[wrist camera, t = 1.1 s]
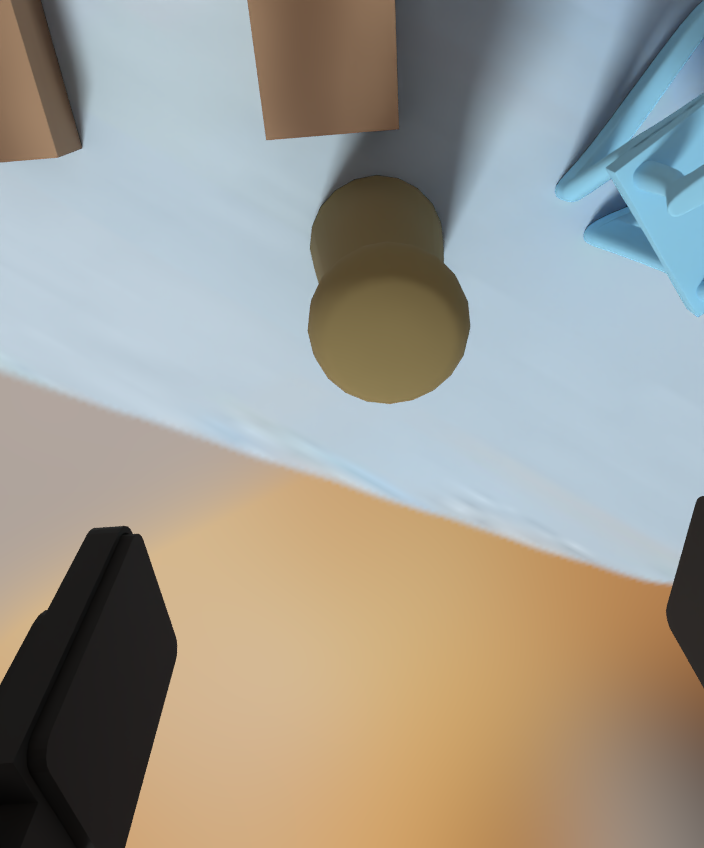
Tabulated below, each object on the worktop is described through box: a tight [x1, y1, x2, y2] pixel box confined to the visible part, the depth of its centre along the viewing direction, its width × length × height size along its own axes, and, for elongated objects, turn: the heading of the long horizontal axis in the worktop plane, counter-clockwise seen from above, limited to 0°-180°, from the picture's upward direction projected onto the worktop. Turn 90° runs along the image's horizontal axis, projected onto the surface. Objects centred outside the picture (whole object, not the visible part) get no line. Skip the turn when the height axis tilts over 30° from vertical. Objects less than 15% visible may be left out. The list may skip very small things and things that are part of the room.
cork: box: [308, 175, 470, 404], centre depth 23 cm, size 6×6×11 cm
